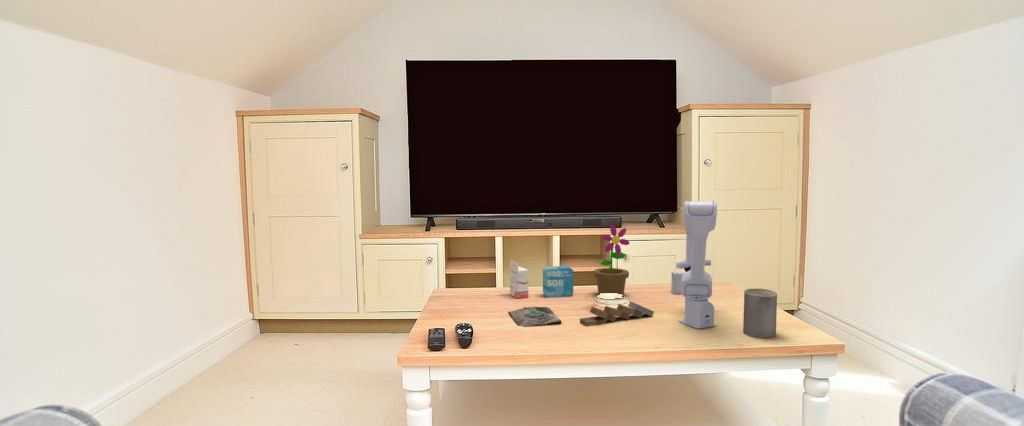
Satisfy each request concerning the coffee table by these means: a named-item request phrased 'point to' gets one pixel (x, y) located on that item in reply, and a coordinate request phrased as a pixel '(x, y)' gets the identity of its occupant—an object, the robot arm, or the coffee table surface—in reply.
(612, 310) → the tile
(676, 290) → the medicine box
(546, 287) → the data package
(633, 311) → the tile
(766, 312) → the pillar candle
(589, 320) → the tile
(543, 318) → the terrain model
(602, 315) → the tile
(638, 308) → the tile
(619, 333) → the coffee table surface
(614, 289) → the flowerpot
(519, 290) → the ink cartridge box
